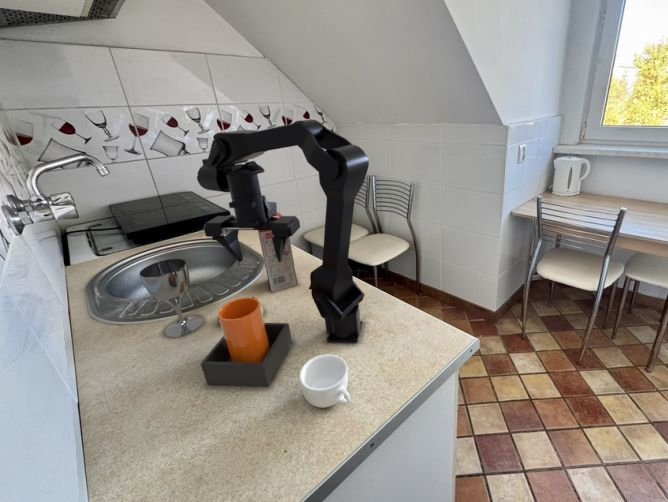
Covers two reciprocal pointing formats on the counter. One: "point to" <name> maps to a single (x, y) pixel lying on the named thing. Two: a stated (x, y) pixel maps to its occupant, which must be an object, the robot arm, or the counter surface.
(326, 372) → the teacup
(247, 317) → the orange cup
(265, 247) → the juice carton
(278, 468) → the counter surface
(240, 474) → the counter surface
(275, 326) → the basket
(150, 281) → the wine glass
